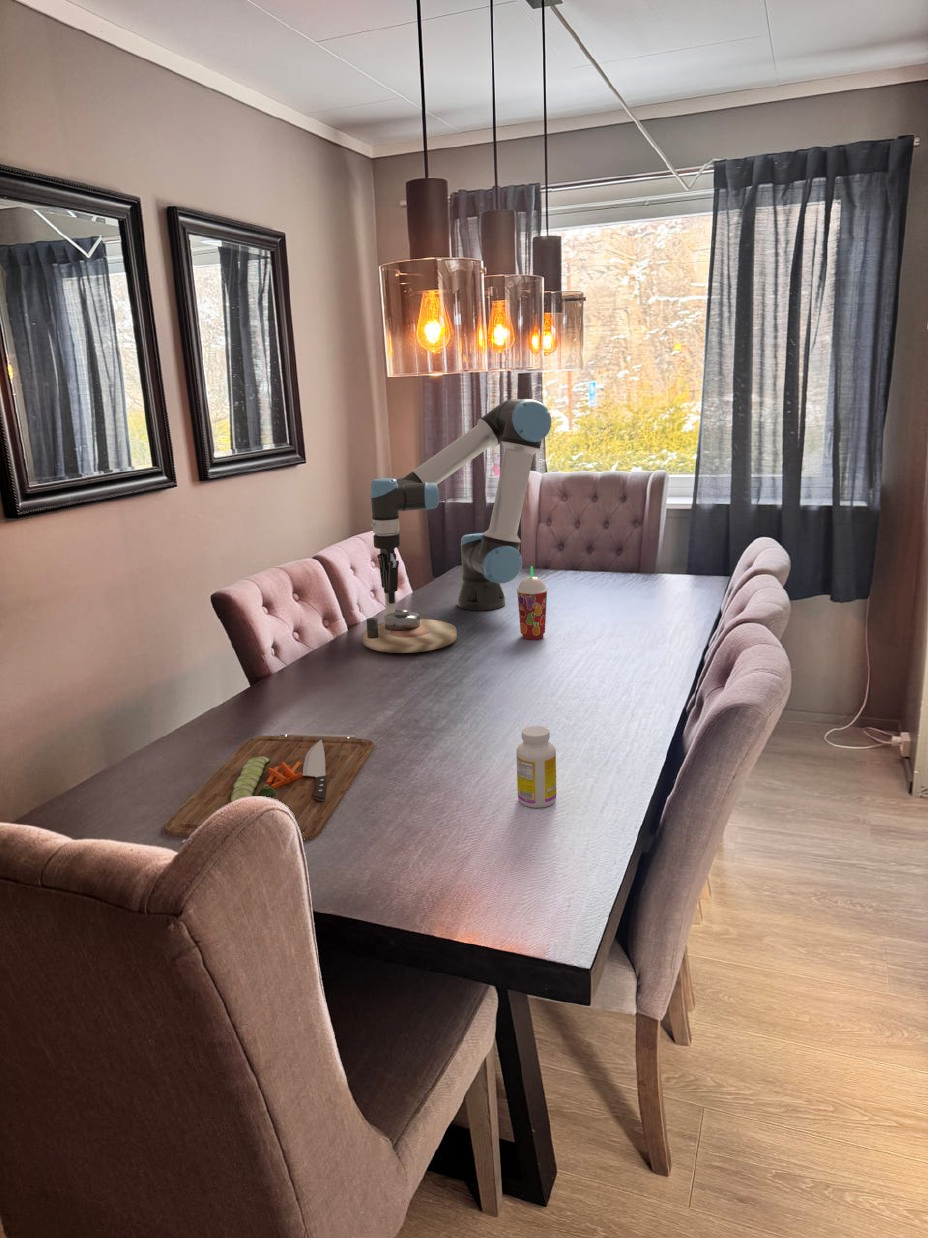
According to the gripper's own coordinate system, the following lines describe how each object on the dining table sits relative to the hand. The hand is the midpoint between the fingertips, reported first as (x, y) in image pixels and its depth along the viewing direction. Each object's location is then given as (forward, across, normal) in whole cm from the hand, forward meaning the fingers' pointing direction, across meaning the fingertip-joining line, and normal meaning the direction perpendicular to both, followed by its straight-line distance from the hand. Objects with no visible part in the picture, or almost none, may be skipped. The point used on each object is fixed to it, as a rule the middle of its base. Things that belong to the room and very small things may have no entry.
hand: (391, 613), depth 260 cm
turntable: (+4, +16, 0) cm, 16 cm away
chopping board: (+6, +89, -50) cm, 103 cm away
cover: (+1, +10, 0) cm, 10 cm away
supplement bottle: (+5, +116, -11) cm, 117 cm away
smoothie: (+5, +28, +32) cm, 43 cm away
